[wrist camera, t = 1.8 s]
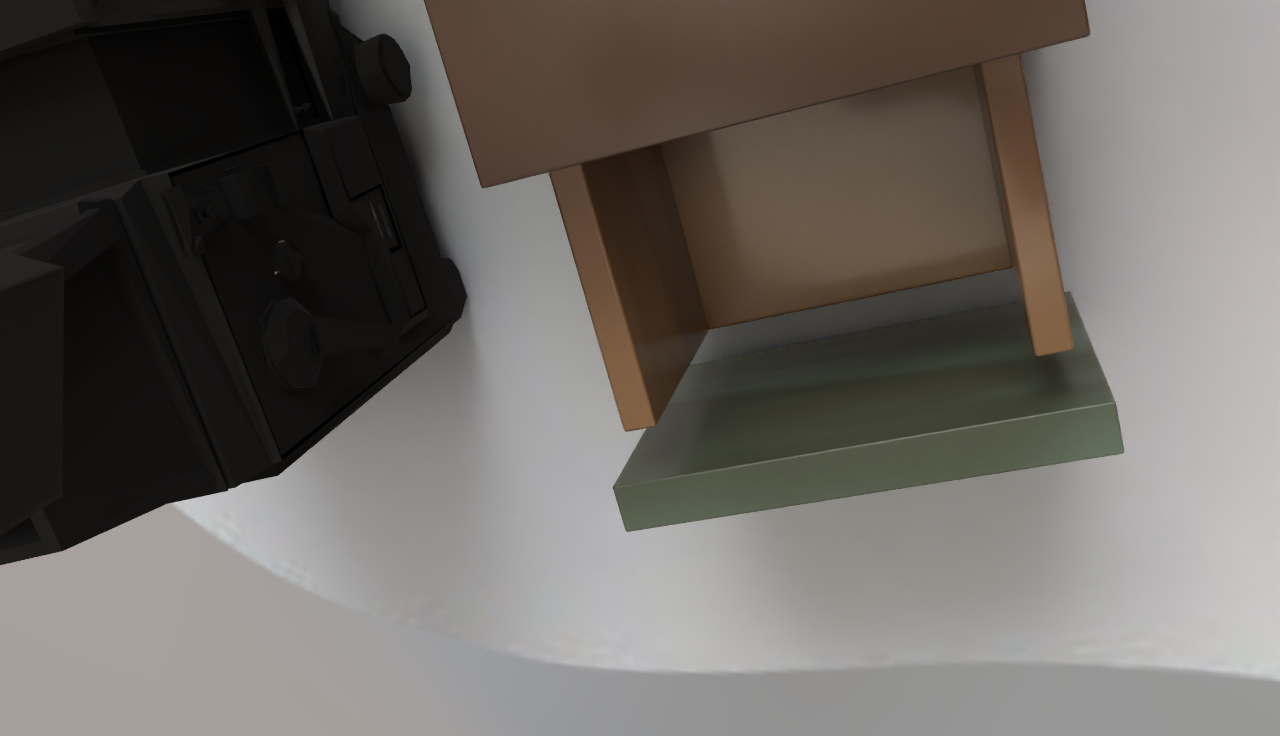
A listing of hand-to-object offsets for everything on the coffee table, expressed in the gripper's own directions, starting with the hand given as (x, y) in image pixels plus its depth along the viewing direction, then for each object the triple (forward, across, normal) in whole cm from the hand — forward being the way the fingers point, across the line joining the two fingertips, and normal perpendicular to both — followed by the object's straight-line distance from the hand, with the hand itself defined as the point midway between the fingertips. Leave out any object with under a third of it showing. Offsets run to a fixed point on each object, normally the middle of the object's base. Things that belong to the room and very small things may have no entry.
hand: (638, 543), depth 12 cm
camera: (+24, -16, -4) cm, 29 cm away
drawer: (+23, +1, -1) cm, 23 cm away
